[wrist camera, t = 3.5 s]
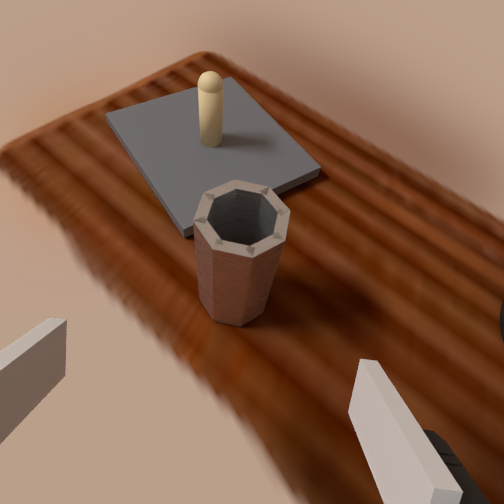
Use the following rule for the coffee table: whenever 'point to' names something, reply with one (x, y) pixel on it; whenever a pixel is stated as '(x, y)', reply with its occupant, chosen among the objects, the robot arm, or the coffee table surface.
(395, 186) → the coffee table surface
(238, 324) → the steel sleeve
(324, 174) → the coffee table surface
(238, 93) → the post plate
